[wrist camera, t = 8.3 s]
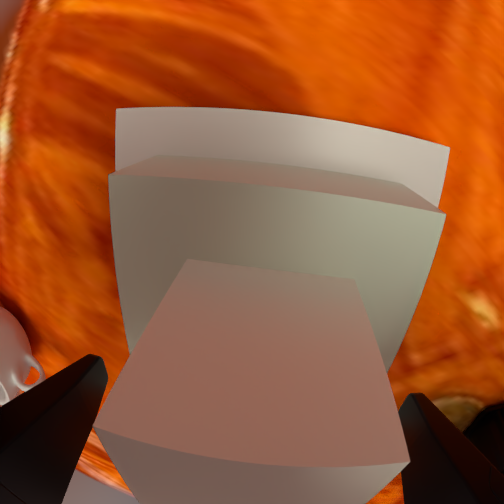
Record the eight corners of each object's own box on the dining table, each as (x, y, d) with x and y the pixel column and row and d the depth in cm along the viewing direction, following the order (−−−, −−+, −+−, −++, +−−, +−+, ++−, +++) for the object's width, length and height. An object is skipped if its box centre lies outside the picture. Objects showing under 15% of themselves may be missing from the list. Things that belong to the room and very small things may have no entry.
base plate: (367, 379, 17) (369, 391, 16) (142, 352, 18) (137, 363, 17) (439, 144, 11) (450, 147, 11) (126, 108, 12) (116, 108, 11)
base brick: (347, 367, 16) (358, 425, 12) (165, 345, 16) (140, 399, 13) (401, 183, 12) (446, 214, 8) (157, 154, 12) (108, 174, 8)
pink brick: (318, 389, 11) (325, 533, 6) (190, 374, 11) (146, 512, 6) (354, 279, 9) (410, 461, 4) (187, 258, 9) (92, 425, 4)
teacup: (-5, 345, 21) (-36, 379, 16) (-26, 277, 18) (-67, 309, 13) (73, 387, 21) (43, 433, 16) (55, 316, 18) (9, 365, 13)
